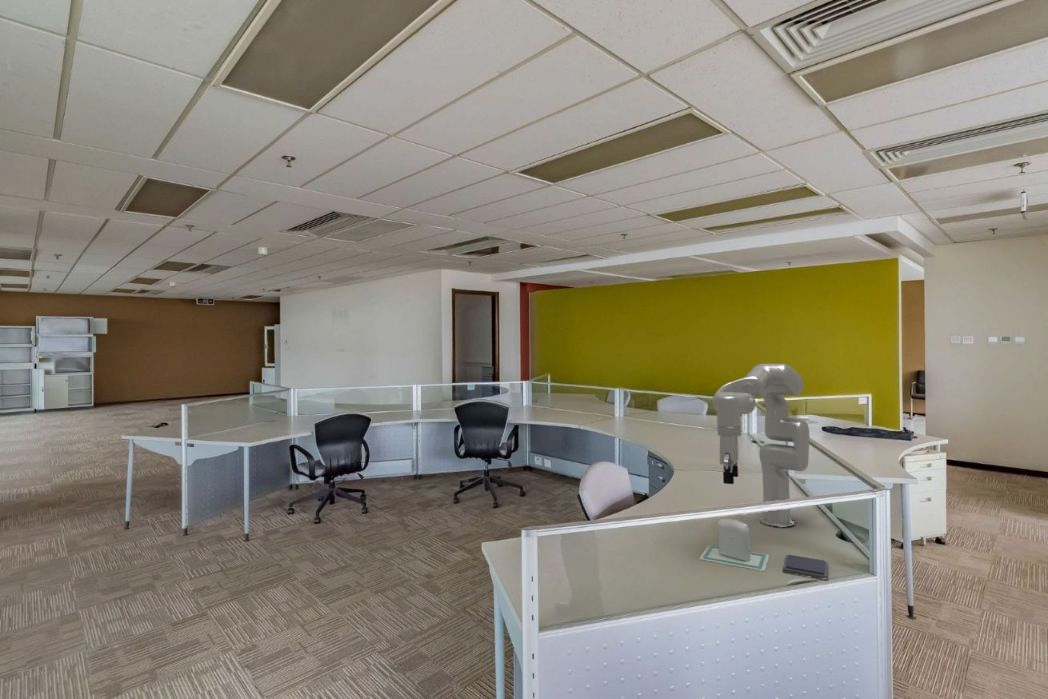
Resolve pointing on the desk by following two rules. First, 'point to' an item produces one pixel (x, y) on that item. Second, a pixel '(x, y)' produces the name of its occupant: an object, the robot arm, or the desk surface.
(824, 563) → the ink pad
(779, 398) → the robot arm
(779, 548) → the desk surface
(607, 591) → the desk surface
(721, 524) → the photo printer
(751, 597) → the desk surface
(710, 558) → the teal bordered white mat
